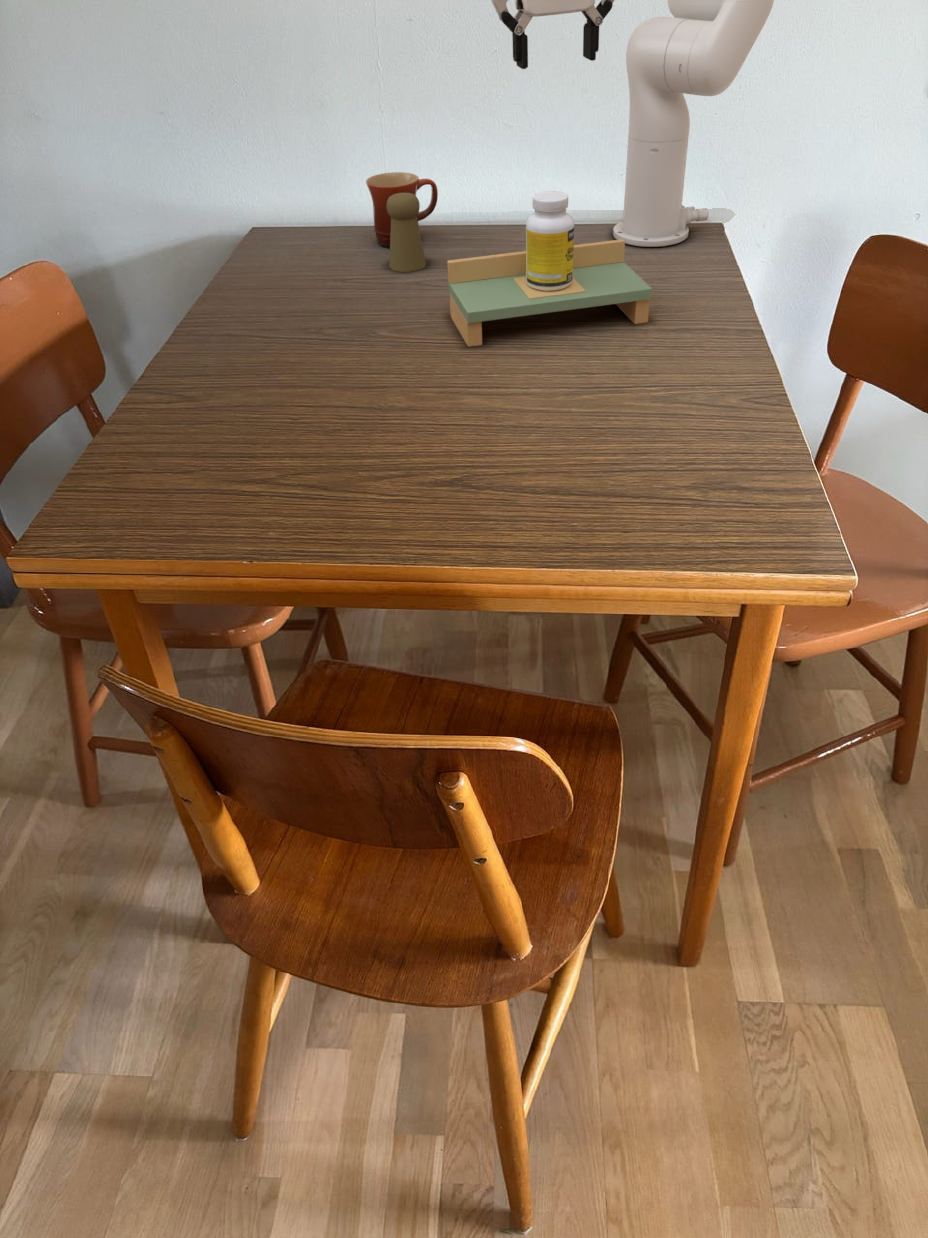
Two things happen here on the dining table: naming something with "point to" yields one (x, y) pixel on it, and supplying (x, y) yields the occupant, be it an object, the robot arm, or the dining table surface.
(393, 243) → the pepper shaker
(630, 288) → the shelf
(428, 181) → the mug
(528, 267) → the pill bottle
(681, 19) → the robot arm
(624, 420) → the dining table surface
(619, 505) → the dining table surface
